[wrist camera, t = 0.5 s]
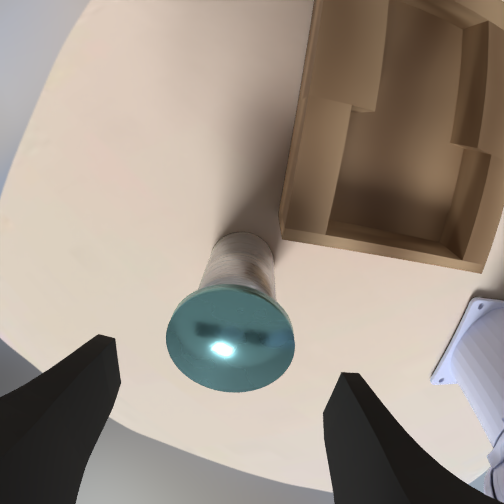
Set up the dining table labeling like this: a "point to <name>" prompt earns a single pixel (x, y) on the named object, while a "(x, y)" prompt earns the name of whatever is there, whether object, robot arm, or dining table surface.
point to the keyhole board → (400, 131)
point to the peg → (233, 321)
